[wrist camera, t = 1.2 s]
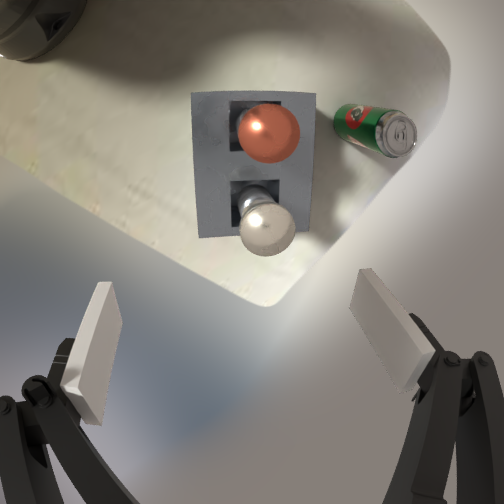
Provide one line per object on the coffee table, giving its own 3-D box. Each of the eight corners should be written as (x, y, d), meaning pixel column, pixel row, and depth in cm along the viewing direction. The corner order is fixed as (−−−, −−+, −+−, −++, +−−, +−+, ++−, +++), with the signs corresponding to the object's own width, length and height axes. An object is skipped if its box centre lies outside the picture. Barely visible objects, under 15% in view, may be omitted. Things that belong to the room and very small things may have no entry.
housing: (193, 94, 32) (190, 92, 25) (293, 93, 34) (316, 93, 27) (199, 211, 39) (198, 238, 32) (290, 206, 41) (308, 231, 34)
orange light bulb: (230, 102, 27) (238, 103, 20) (276, 102, 28) (300, 104, 21) (230, 147, 29) (239, 164, 22) (276, 146, 30) (299, 163, 23)
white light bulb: (231, 180, 31) (240, 206, 24) (275, 178, 31) (297, 204, 25) (232, 221, 33) (241, 258, 26) (274, 219, 34) (293, 254, 27)
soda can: (331, 139, 37) (377, 158, 27) (332, 102, 35) (381, 107, 24) (364, 141, 38) (417, 161, 27) (366, 105, 35) (421, 114, 25)
